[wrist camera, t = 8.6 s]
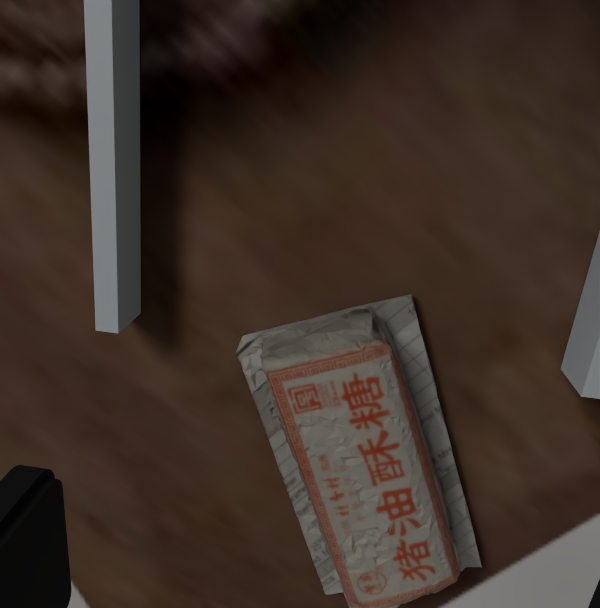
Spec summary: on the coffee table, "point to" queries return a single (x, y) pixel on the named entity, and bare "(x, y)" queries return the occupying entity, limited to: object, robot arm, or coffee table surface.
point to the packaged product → (364, 451)
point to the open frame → (126, 190)
